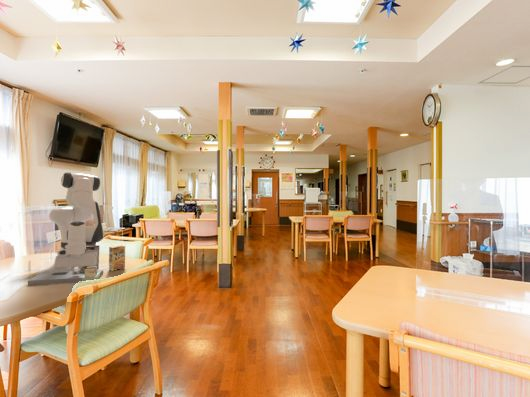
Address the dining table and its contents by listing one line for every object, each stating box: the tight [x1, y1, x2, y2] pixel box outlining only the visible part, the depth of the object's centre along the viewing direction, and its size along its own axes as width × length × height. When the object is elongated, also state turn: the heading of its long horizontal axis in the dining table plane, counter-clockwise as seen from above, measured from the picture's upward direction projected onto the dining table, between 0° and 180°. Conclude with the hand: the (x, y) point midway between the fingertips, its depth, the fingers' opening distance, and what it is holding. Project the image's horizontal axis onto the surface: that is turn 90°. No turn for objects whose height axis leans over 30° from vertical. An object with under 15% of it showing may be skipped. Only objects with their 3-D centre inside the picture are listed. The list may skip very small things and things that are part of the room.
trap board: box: [27, 269, 104, 286], centre depth 160 cm, size 16×32×2 cm, turn 108°
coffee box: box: [80, 244, 100, 271], centre depth 178 cm, size 9×6×16 cm
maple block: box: [85, 267, 97, 277], centre depth 160 cm, size 5×5×4 cm
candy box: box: [108, 244, 126, 272], centre depth 182 cm, size 9×4×15 cm, turn 150°
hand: (76, 274), depth 158 cm, fingers closed
